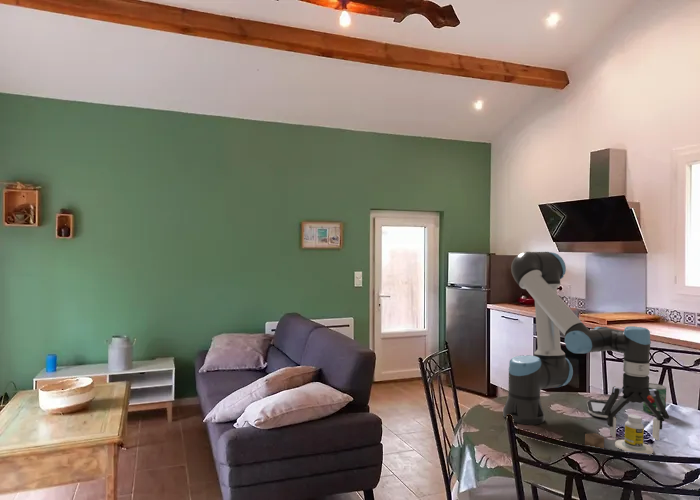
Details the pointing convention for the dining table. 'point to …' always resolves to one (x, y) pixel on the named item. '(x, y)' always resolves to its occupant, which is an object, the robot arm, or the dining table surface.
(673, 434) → the dining table surface
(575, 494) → the dining table surface
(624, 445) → the saucer
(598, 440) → the walnut block
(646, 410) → the canned tomato
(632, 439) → the supplement bottle
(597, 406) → the gaming console
